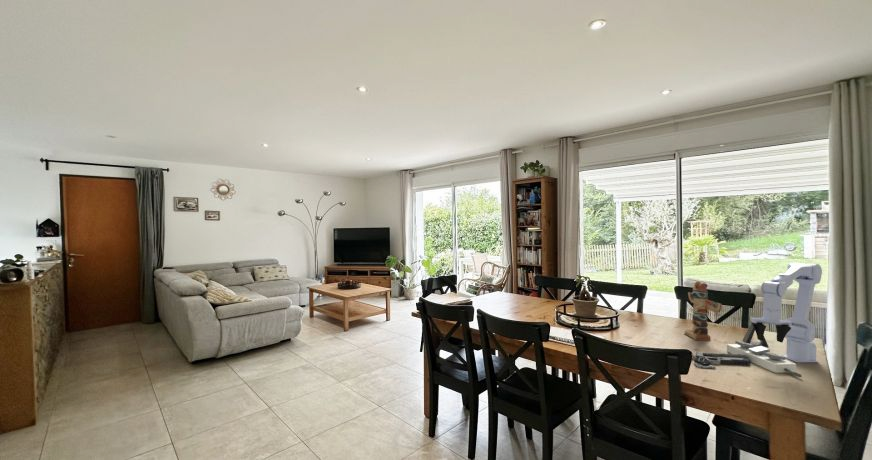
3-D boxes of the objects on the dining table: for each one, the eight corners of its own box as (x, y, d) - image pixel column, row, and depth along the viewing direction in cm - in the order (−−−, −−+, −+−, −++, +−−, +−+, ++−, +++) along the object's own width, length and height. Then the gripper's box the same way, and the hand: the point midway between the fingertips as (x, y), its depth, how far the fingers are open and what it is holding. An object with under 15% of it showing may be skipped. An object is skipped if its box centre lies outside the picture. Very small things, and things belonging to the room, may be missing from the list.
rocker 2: (761, 348, 163) (760, 345, 163) (769, 351, 159) (769, 348, 159) (748, 351, 163) (748, 348, 163) (756, 354, 159) (756, 351, 159)
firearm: (764, 366, 150) (741, 352, 165) (698, 363, 155) (681, 349, 169) (763, 374, 150) (740, 358, 165) (698, 370, 155) (681, 355, 170)
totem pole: (675, 328, 209) (676, 277, 208) (689, 329, 208) (690, 278, 207) (705, 346, 181) (706, 287, 180) (722, 346, 180) (722, 287, 179)
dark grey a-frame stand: (765, 343, 183) (765, 320, 183) (768, 347, 178) (768, 323, 178) (742, 340, 188) (742, 318, 188) (745, 344, 183) (745, 321, 182)
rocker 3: (775, 356, 157) (776, 354, 156) (784, 360, 153) (785, 357, 152) (762, 354, 156) (763, 351, 156) (771, 358, 152) (772, 355, 152)
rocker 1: (747, 345, 171) (747, 342, 170) (754, 348, 167) (755, 345, 166) (735, 343, 170) (735, 340, 170) (742, 346, 166) (743, 343, 166)
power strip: (744, 351, 174) (745, 342, 174) (811, 378, 144) (811, 368, 144) (726, 351, 173) (726, 343, 173) (789, 379, 143) (789, 368, 143)
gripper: (760, 309, 151) (758, 341, 151) (798, 313, 150) (796, 345, 150) (748, 306, 158) (746, 337, 158) (784, 309, 157) (782, 340, 157)
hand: (769, 340), depth 154 cm, fingers open, 7 cm apart
